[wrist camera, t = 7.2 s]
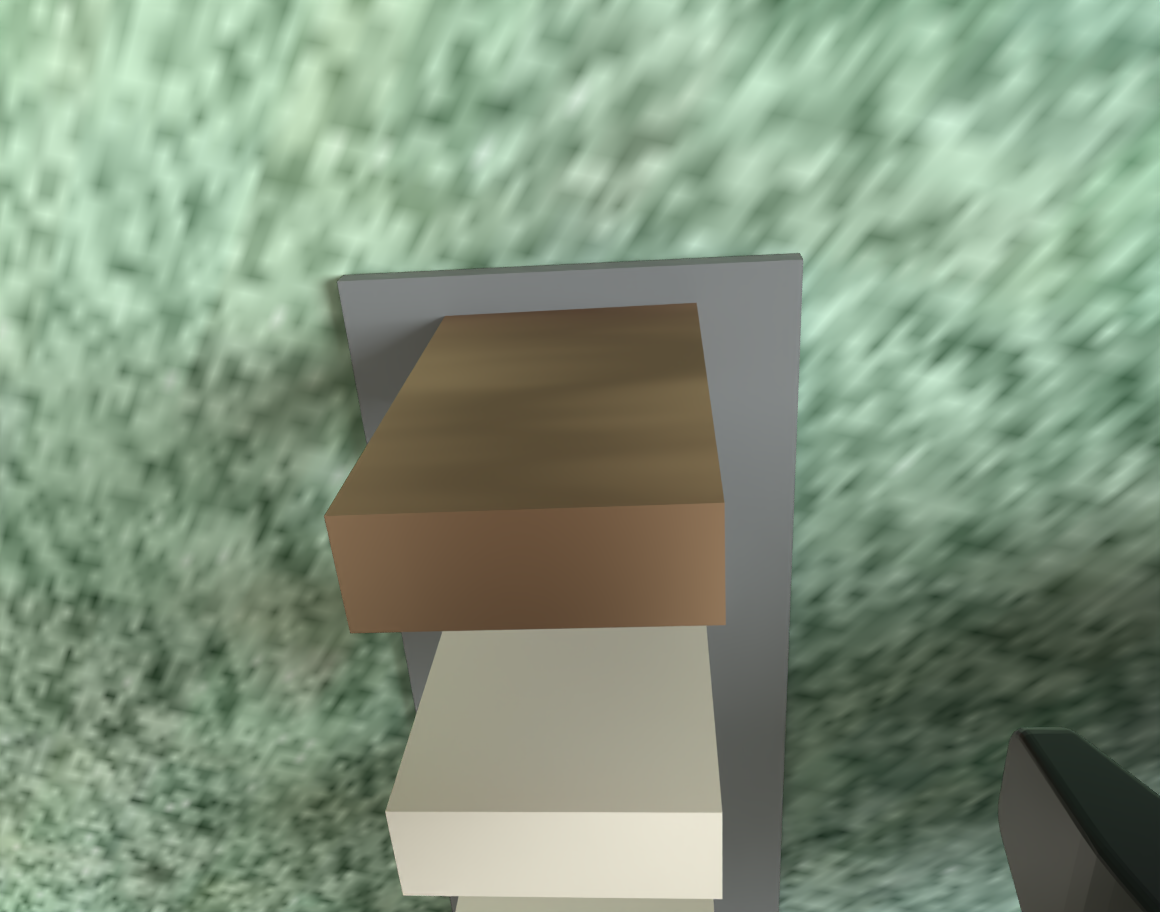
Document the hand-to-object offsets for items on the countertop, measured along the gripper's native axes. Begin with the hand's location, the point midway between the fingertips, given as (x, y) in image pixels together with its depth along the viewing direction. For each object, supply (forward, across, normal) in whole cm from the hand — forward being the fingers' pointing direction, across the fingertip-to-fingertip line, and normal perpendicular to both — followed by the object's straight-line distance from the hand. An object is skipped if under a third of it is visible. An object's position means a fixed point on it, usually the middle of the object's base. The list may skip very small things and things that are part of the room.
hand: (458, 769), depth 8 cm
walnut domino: (+10, 0, 0) cm, 10 cm away
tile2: (+10, 0, +5) cm, 11 cm away
